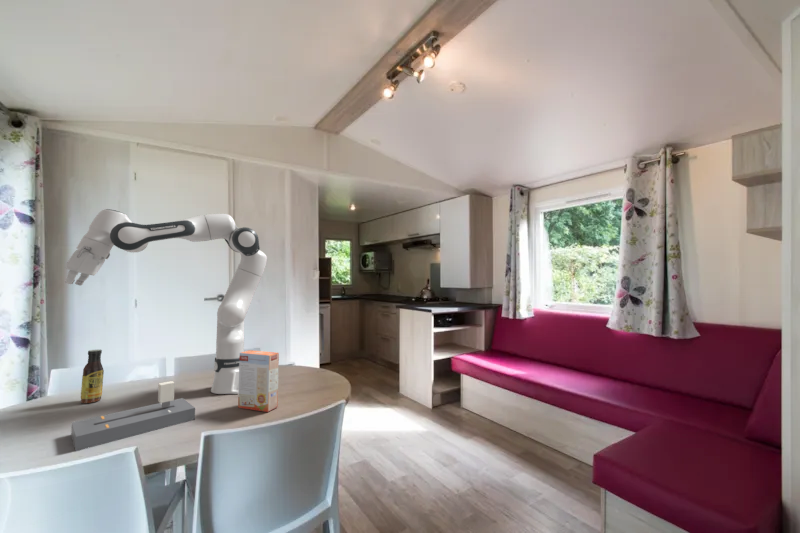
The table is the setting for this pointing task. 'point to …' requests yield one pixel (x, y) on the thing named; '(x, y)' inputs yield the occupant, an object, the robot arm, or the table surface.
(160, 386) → the fader knob
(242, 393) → the cracker box
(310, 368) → the table surface
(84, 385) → the sauce bottle
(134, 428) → the console
